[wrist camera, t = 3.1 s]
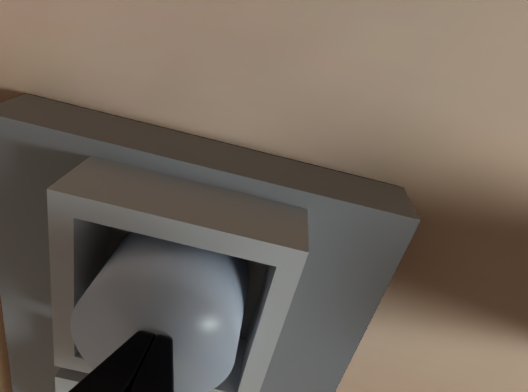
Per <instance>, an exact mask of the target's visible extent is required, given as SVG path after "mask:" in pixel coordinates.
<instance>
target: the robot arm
mask: <svg viewBox="0 0 528 392" xmlns="http://www.w3.org/2000/svg"><path fill="white" fill-rule="evenodd" d="M68 392H174V365H173V339H172V338H171V337H168V336H164V335H160V334H158V335H156V336H155V334H154V333H151V332H147V331H143V330H140V331H137V332H136V333H135V334H134V335H133V336H131V337H130V338H129V339H128V340H127V341H126V342H125V343H123V344H122V345H121V346H120V347H119V348H118V349H117V350H115V351H114V352H113V353H112V354H111V355H110V356H108V357H107V358H106V359H105V360H104V361H103V362H102V363H100V364H99V365H98V366H97V367H96V368H95V369H94V370H92V371H91V372H90V373H89V374H88V375H87V376H86V377H84V378H83V379H82V380H81V381H80V382H79V383H78V384H76V385H75V386H74V387H73V388H72V389H71V390H70V391H68Z"/></svg>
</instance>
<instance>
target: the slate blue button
mask: <svg viewBox="0 0 528 392" xmlns="http://www.w3.org/2000/svg"><path fill="white" fill-rule="evenodd" d="M248 287H249V273H248V268H247V265H246V262H245V260H244V259H242V258H238V257H234V256H230V255H225V254H221V253H217V252H213V251H209V250H205V249H201V248H196V247H192V246H188V245H184V244H180V243H176V242H171V241H167V240H163V239H159V238H155V237H151V236H147V235H142V234H138V233H134V232H130V233H129V234H128V235H127V236H126V237H125V238H124V240H123V241H122V242H121V244H120V245H119V246H118V248H117V249H116V251H115V252H114V253H113V255H112V256H111V257H110V259H109V260H108V261H107V263H106V264H105V266H104V267H103V268H102V270H101V271H100V272H99V274H98V275H97V276H96V278H95V279H94V281H93V282H92V283H91V285H90V286H89V287H88V289H87V290H86V291H85V293H84V294H83V296H82V297H81V298H80V300H79V301H78V302H77V304H76V306H75V308H74V310H73V313H72V316H71V334H72V337H73V341H74V343H75V345H76V348H77V349H78V351H79V353H80V354H81V356H82V357H83V358H84V360H85V361H86V362H87V363H88V364H89V365H90V366H91V367H92V368H93V369H95V368H96V367H97V366H98V365H99V364H100V363H102V362H103V361H104V360H105V359H106V358H107V357H108V356H110V355H111V354H112V353H113V352H114V351H115V350H117V349H118V348H119V347H120V346H121V345H122V344H123V343H125V342H126V341H127V340H128V339H129V338H130V337H131V336H133V335H134V334H135V333H136V332H137V331H140V330H143V331H147V332H151V333H154V334H155V336H156V335H158V334H160V335H164V336H168V337H171V338H172V339H173V365H174V392H208V391H210V390H212V389H214V388H216V387H217V386H218V385H220V384H221V383H222V382H223V381H224V380H225V379H226V378H227V377H228V375H229V374H230V372H231V371H232V368H233V366H234V363H235V358H236V352H237V347H238V341H239V336H240V330H241V325H242V319H243V314H244V308H245V303H246V297H247V292H248Z"/></svg>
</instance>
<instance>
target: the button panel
mask: <svg viewBox="0 0 528 392" xmlns="http://www.w3.org/2000/svg"><path fill="white" fill-rule="evenodd" d="M420 221H421V220H420V218H419V216H418V214H417V212H416V210H415V208H414V207H413V205H412V203H411V201H410V199H409V197H408V195H407V194H406V192H405V190H404V188H403V187H399V186H395V185H391V184H387V183H383V182H379V181H375V180H371V179H367V178H363V177H359V176H355V175H351V174H347V173H343V172H339V171H335V170H331V169H327V168H323V167H318V166H314V165H310V164H306V163H302V162H298V161H294V160H290V159H286V158H282V157H278V156H274V155H270V154H266V153H262V152H258V151H254V150H250V149H246V148H242V147H238V146H234V145H230V144H226V143H222V142H218V141H214V140H210V139H206V138H202V137H198V136H194V135H190V134H186V133H182V132H178V131H174V130H170V129H166V128H162V127H158V126H154V125H150V124H146V123H142V122H138V121H134V120H130V119H126V118H122V117H118V116H114V115H110V114H106V113H102V112H98V111H94V110H90V109H86V108H82V107H78V106H74V105H70V104H66V103H62V102H58V101H54V100H50V99H46V98H42V97H38V96H34V95H30V94H23V95H20V96H17V97H14V98H11V99H9V100H6V101H3V102H0V297H1V305H2V313H3V321H4V328H5V336H6V344H7V352H8V360H9V368H10V376H11V384H12V392H68V391H70V390H71V389H72V388H73V387H74V386H75V385H76V384H78V383H79V382H80V381H81V380H82V379H83V378H84V377H86V376H87V375H88V374H89V373H90V372H91V371H92V370H94V369H93V368H92V367H91V366H90V365H89V364H88V363H87V362H86V361H85V360H84V358H83V357H82V356H81V354H80V353H79V351H78V349H77V348H76V345H75V343H74V341H73V337H72V334H71V316H72V313H73V310H74V308H75V306H76V304H77V302H78V301H79V300H80V298H81V297H82V296H83V294H84V293H85V291H86V290H87V289H88V287H89V286H90V285H91V283H92V282H93V281H94V279H95V278H96V276H97V275H98V274H99V272H100V271H101V270H102V268H103V267H104V266H105V264H106V263H107V261H108V260H109V259H110V257H111V256H112V255H113V253H114V252H115V251H116V249H117V248H118V246H119V245H120V244H121V242H122V241H123V240H124V238H125V237H126V236H127V235H128V234H129V233H130V232H134V233H138V234H142V235H147V236H151V237H155V238H159V239H163V240H167V241H171V242H176V243H180V244H184V245H188V246H192V247H196V248H201V249H205V250H209V251H213V252H217V253H221V254H225V255H230V256H234V257H238V258H242V259H244V260H245V262H246V265H247V268H248V273H249V287H248V292H247V297H246V303H245V308H244V314H243V319H242V325H241V330H240V336H239V341H238V347H237V352H236V358H235V363H234V366H233V368H232V371H231V372H230V374H229V375H228V377H227V378H226V379H225V380H224V381H223V382H222V383H221V384H220V385H218V386H217V387H216V388H214V389H212V390H210V391H208V392H335V391H336V389H337V387H338V385H339V383H340V381H341V379H342V377H343V375H344V373H345V371H346V369H347V367H348V365H349V363H350V361H351V359H352V357H353V355H354V353H355V351H356V349H357V347H358V345H359V343H360V341H361V339H362V337H363V335H364V333H365V331H366V329H367V327H368V325H369V323H370V321H371V319H372V317H373V315H374V313H375V311H376V309H377V307H378V305H379V303H380V301H381V299H382V297H383V295H384V293H385V291H386V289H387V287H388V285H389V283H390V281H391V279H392V277H393V275H394V273H395V271H396V269H397V267H398V265H399V263H400V261H401V259H402V257H403V255H404V253H405V251H406V249H407V247H408V245H409V243H410V241H411V239H412V237H413V235H414V233H415V231H416V229H417V227H418V225H419V223H420Z"/></svg>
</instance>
